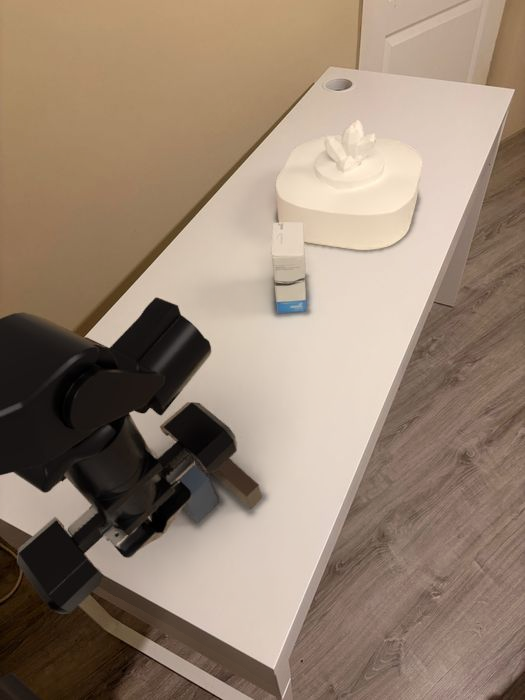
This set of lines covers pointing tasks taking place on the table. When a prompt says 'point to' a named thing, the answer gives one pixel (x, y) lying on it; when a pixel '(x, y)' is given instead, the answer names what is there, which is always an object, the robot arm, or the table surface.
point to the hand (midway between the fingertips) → (159, 530)
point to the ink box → (289, 266)
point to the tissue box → (350, 189)
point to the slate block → (198, 494)
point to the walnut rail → (239, 483)
